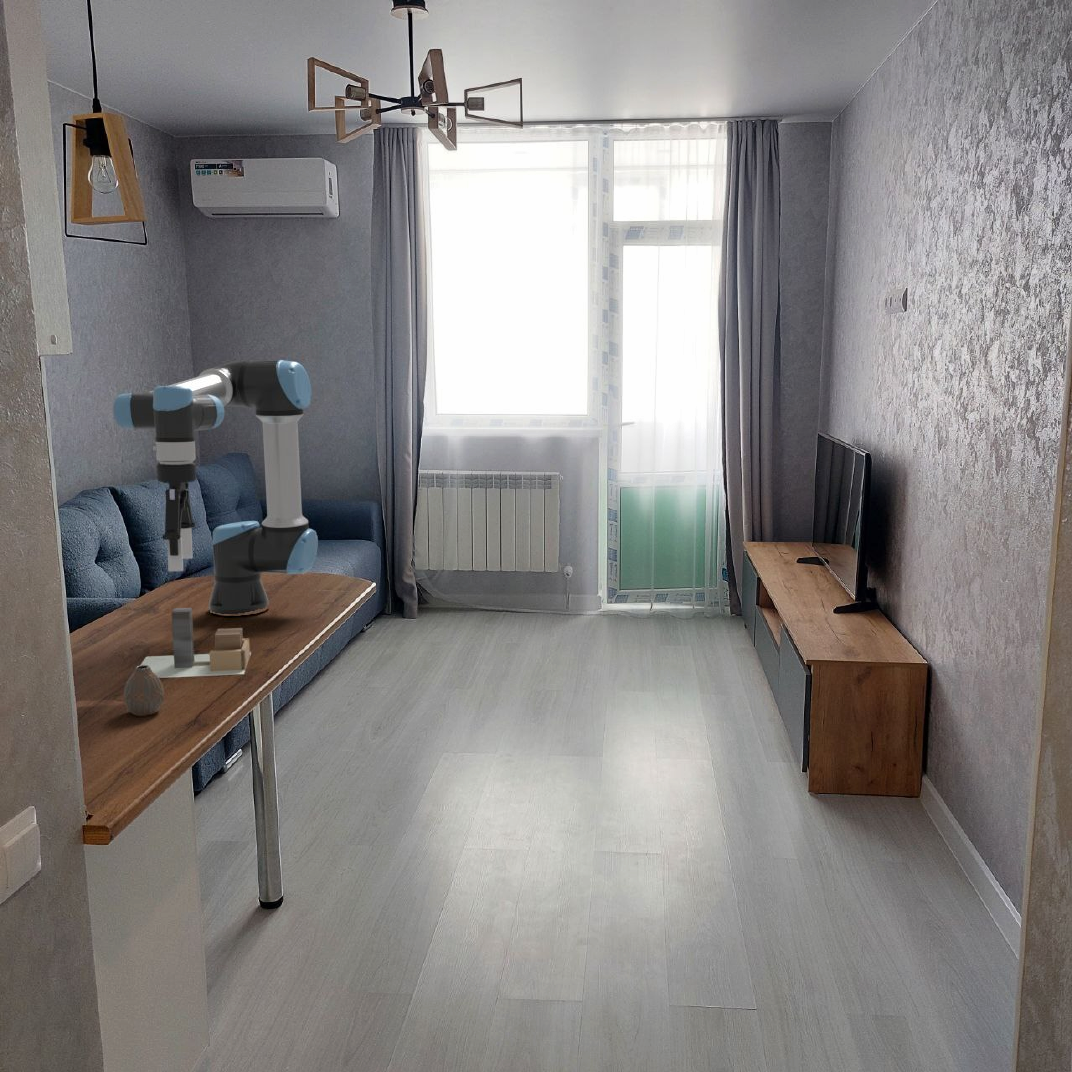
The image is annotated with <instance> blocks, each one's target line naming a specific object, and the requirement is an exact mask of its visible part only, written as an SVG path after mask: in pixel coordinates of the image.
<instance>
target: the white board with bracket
mask: <svg viewBox="0 0 1072 1072" xmlns="http://www.w3.org/2000/svg"><path fill="white" fill-rule="evenodd" d="M250 648H251V647H250V638H249V637H247V638H243V646H242V649H235V650H216V646H215V645H214V650H213V649H212V650H210V651H209V653H203V654H202V653H201V654H194V662H200V661H210V665H196V666H193V667H192V668H175V667H174V654H173V655H155V656H153V655H152V656H145V658H144V660H142V662H141V664H140V665H139V666H141V665H148V666H149V667H150V669H151V670H152V672H153V673H154V674H155V675H156V676H157V677H158V678H159V679H165V678H166V679H167V678H171V679H172V678H189V677H211V676H232V675H233V676H235V675H245V672H246V670H247V667H248V662H249V661H250V657H251V655H252V651H250V650H251V649H250Z"/></svg>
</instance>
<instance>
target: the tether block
mask: <svg viewBox="0 0 1072 1072" xmlns="http://www.w3.org/2000/svg"><path fill="white" fill-rule="evenodd" d="M193 624H194V623H193V609H192V607H179V608H178V607H175V608H173V610H172V611H171V629H172V642H173V643H172V644H173V645H172V646H173V655H174V667H175V668H192V667H193V666H196V665H210V661H200V662H194V655H195V648H194V647H195V645H194V625H193ZM243 639H244V636H243V627H237V628H236V627H235V628H234V627H233V628H232V627H231V628H217V630H216V631H215V633H214V647H215V646H216V650H235V649H242V646H243Z"/></svg>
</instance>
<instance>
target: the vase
mask: <svg viewBox="0 0 1072 1072" xmlns="http://www.w3.org/2000/svg"><path fill="white" fill-rule="evenodd" d="M140 665H141V664H140ZM140 665H137V666H136V667H135V668H134V671H133V673H132V674H131V675H130V676H129V678H128V680H127V681H126V683H125V686H124V690H123V700H124V704H125V706H126V708H127V710H128V711H129V713H131V714H132V715H134V716H136V717H145V716H150V715H154V714H156V713H157V712H158V711H159V710H160V709H161V707H162V705H163V703H164V700H165V699H164V698H165V690H164V689H165V688H164V685H163V683H162V680H161V678H158V677H157V676H156V675H155V674H154V673H153V672H152V670H151V669H150V667H149V666H148V665H141V666H140Z"/></svg>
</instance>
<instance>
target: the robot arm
mask: <svg viewBox="0 0 1072 1072" xmlns="http://www.w3.org/2000/svg"><path fill="white" fill-rule="evenodd" d="M311 399H312V385H311V381H310V378H309V374H308V373H307V371H306V368H304V366H303V365H302V364H301V363H300V362H297V361H292V360H283V359H280V360H249V359H248V360H247V359H244V360H235V361H231V362H228V363H224V364H220V365H218V366H213V367H210V368H207V369H205V370H202V372H200V373H199V374H198V376H195V377H193V378H189V379H186V380H181V381H179V382H175V383H172V384H170V385H157V386H156V387H154V389H152V390H148V391H145V392H140V393H134V392H130V393H121V394H119V395H118V396H116V398H115V399H114V401H113V405H112V412H113V418H114V421H115V422H116V424H117V425H118V426H119V427H121V428H123V429H131V430H133V431H134V430H154V433H155V437H154V439H155V445H154V446H152V450H153V451H155V452H156V453H155V454H156V461H157V462H159V463H157V465H156V478H157V481H158V482H159V483H163V484H165V483H166V484H168V489H167V488H166V489H165V490H164V491H165V492H164V494H165V514H164V515H165V516H164V517H165V519H164V520H165V521H164V522H165V523H164V534H162V540H163V541H164V540H166V547H167V548H166V549H167V568H168V569H167V570H168V571H167V572H183V571H184V561H183V560H190V559H193V558H194V554H193V533H192V528H195V527H196V523H195V522H193V521H194V520H193V516H192V515H193V514H192V507H191V499H190V491H189V486H190V484H189V483H192V482H195V481H196V480H197V464H195V462H194V461H195V460H196V441H195V432H196V431H210V430H211V429H215V428H218V427H219V426H220V425H221V424H222V423H223V421H224V419H225V407H239V408H255V417H256V418H257V419H259V420H260V422H261V423H262V439H263V453H264V454H263V455H264V457H263V458H264V473H265V474H264V477H265V478H264V479H265V493H266V497H265V498H266V510H267V511H266V513H267V514H266V515H267V516H266V517H265V519H263V520H262V522H261V525H260V523H259V521H257V520H248V521H238V522H232V523H227V524H221V525H219V526H217V527H215V528H214V529H213V531H212V554H213V555H212V556H213V572H214V573H213V574H214V575H213V577H214V584H213V588H212V591H211V594H210V598H209V601H208V610H209V609H210V611H212V612H215V613H221V614H238V613H245V612H250V611H255V610H258V609H263V608H265V607H267V606H268V604H269V605H270V603H269V598H268V595H267V593H266V590H265V588H264V585H263V582H262V578H261V577H262V576H261V575H262V574H263V573H266V574H267V573H268V574H285V575H286V574H287V575H300V574H301V575H302V574H305V573H307V572H309V571H310V569H311V568H312V567H313V565H314V564H315V560H316V557H317V555H318V553H317V552H318V547H319V539H318V535H317V531H316V530H314V529H312V528H310V527H309V520H308V518H306V517H305V516H304V515H303V509H302V508H303V507H302V506H303V505H302V489H301V488H302V486H301V484H302V483H301V469H300V468H301V467H300V465H301V464H300V449H299V448H300V446H299V424H298V423H299V420H300V419H301V418H302V417H303V416H304V409H306V408H309V406H310V405H311V403H312V402H311Z"/></svg>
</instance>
